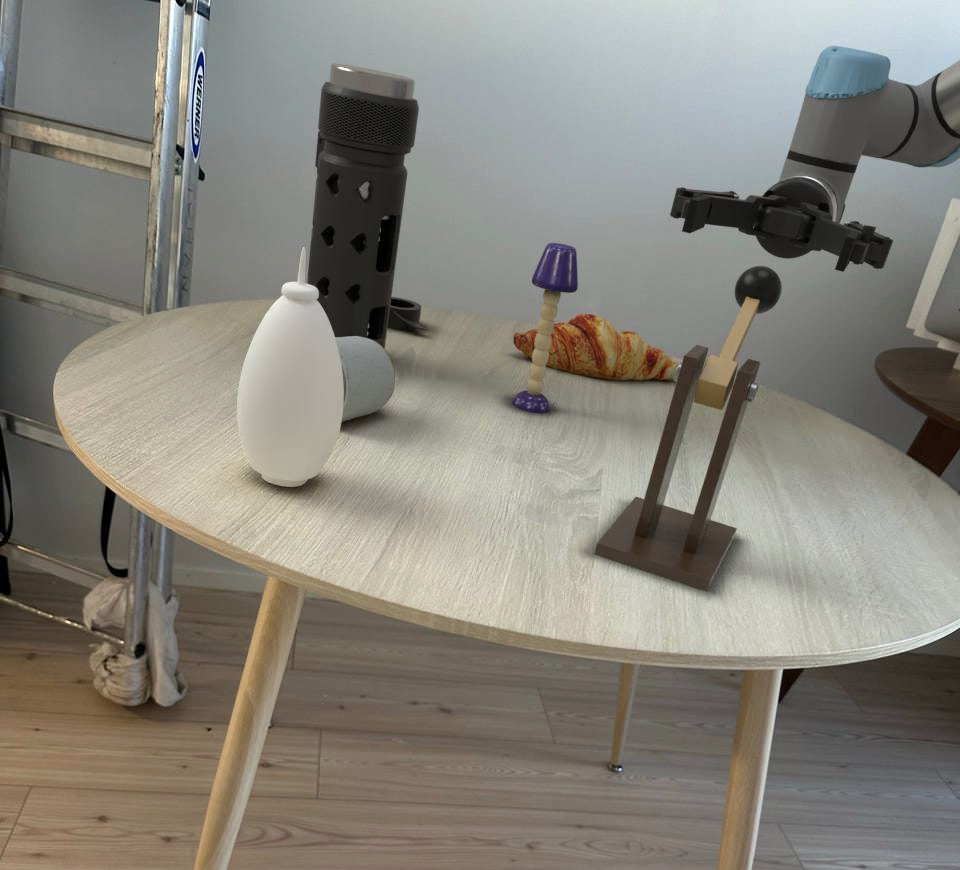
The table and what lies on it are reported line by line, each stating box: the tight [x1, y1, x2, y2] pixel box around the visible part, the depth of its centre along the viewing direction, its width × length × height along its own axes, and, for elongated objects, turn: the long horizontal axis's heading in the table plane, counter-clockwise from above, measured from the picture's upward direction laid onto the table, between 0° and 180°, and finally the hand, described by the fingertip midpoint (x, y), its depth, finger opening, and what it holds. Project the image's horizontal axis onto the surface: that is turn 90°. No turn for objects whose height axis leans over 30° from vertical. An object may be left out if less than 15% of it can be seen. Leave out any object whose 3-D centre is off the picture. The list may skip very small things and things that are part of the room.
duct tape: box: [387, 296, 429, 332], centre depth 127 cm, size 8×10×3 cm
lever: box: [693, 265, 783, 411], centre depth 78 cm, size 14×4×4 cm, turn 158°
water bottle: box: [306, 63, 420, 350], centre depth 105 cm, size 10×28×10 cm
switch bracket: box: [593, 344, 761, 593], centre depth 79 cm, size 12×9×16 cm
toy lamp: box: [511, 242, 579, 414], centre depth 104 cm, size 5×5×17 cm
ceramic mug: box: [335, 336, 396, 423], centre depth 95 cm, size 11×8×8 cm
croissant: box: [512, 312, 679, 381], centre depth 125 cm, size 21×10×8 cm, turn 97°
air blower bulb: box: [236, 246, 344, 488], centre depth 76 cm, size 8×8×18 cm
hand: (765, 235), depth 88 cm, fingers open, 13 cm apart
